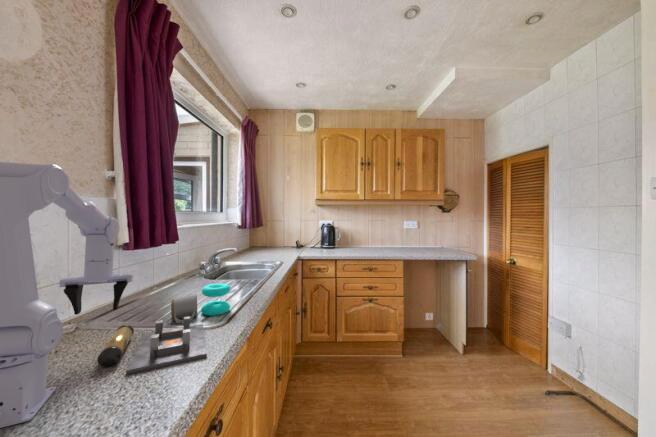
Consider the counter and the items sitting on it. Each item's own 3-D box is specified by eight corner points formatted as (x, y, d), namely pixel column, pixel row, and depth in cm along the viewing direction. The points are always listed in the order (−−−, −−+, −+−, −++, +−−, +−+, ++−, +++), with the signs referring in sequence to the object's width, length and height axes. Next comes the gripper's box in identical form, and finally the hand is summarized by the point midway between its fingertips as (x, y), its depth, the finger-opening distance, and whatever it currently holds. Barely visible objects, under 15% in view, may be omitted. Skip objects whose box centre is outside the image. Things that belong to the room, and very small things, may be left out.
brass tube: (121, 364, 59) (120, 346, 59) (97, 369, 57) (97, 351, 57) (133, 337, 73) (133, 323, 73) (115, 341, 71) (115, 326, 71)
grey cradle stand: (206, 357, 63) (207, 335, 63) (125, 375, 55) (126, 349, 55) (202, 327, 81) (203, 310, 81) (141, 337, 74) (142, 318, 74)
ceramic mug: (171, 315, 91) (171, 294, 91) (196, 312, 95) (197, 291, 95) (170, 326, 82) (171, 303, 82) (198, 322, 86) (199, 299, 86)
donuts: (228, 288, 92) (198, 289, 90) (227, 315, 92) (197, 317, 90) (232, 282, 102) (205, 283, 100) (231, 307, 101) (205, 308, 99)
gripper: (135, 257, 75) (133, 303, 74) (68, 259, 68) (66, 310, 67) (131, 260, 69) (129, 310, 68) (56, 263, 62) (54, 319, 61)
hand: (97, 311), depth 67 cm, fingers open, 7 cm apart
